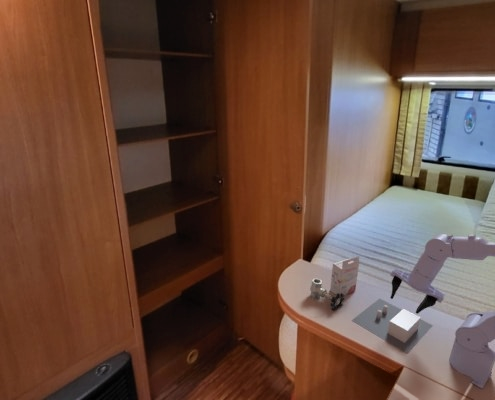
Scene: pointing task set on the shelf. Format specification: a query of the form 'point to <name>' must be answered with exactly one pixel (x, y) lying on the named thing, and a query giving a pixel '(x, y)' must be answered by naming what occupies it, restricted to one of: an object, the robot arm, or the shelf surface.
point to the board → (378, 324)
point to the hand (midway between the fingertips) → (404, 304)
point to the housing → (403, 325)
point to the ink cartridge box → (344, 276)
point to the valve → (325, 294)
